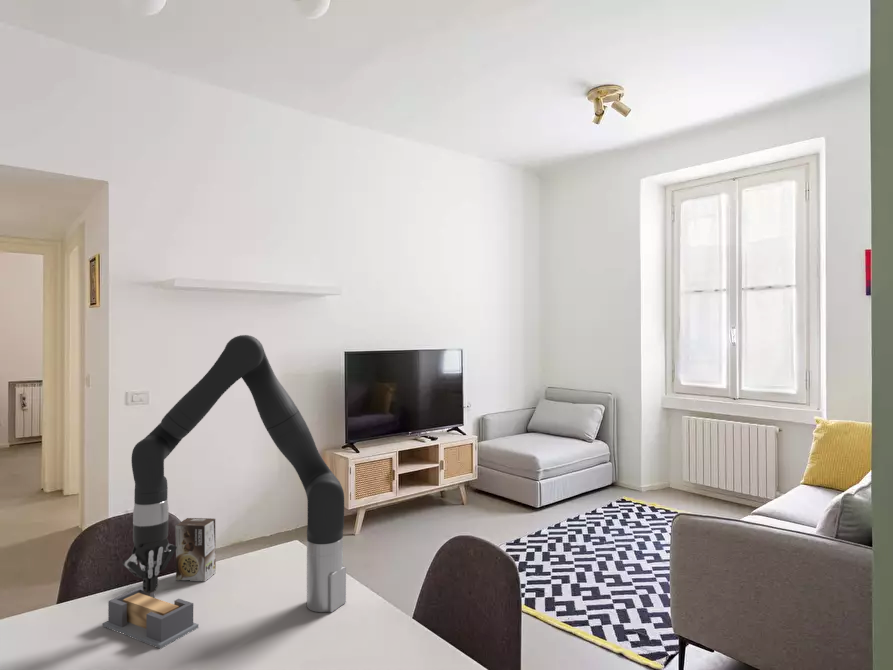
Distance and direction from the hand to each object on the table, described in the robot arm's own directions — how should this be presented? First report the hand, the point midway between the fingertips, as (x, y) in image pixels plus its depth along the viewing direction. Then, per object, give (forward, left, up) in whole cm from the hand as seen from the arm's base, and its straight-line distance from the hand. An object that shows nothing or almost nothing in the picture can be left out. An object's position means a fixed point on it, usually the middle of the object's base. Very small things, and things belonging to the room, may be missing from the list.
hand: (150, 591), depth 132 cm
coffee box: (+14, -24, -9) cm, 29 cm away
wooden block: (0, 0, -8) cm, 8 cm away
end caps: (0, 0, -9) cm, 9 cm away
